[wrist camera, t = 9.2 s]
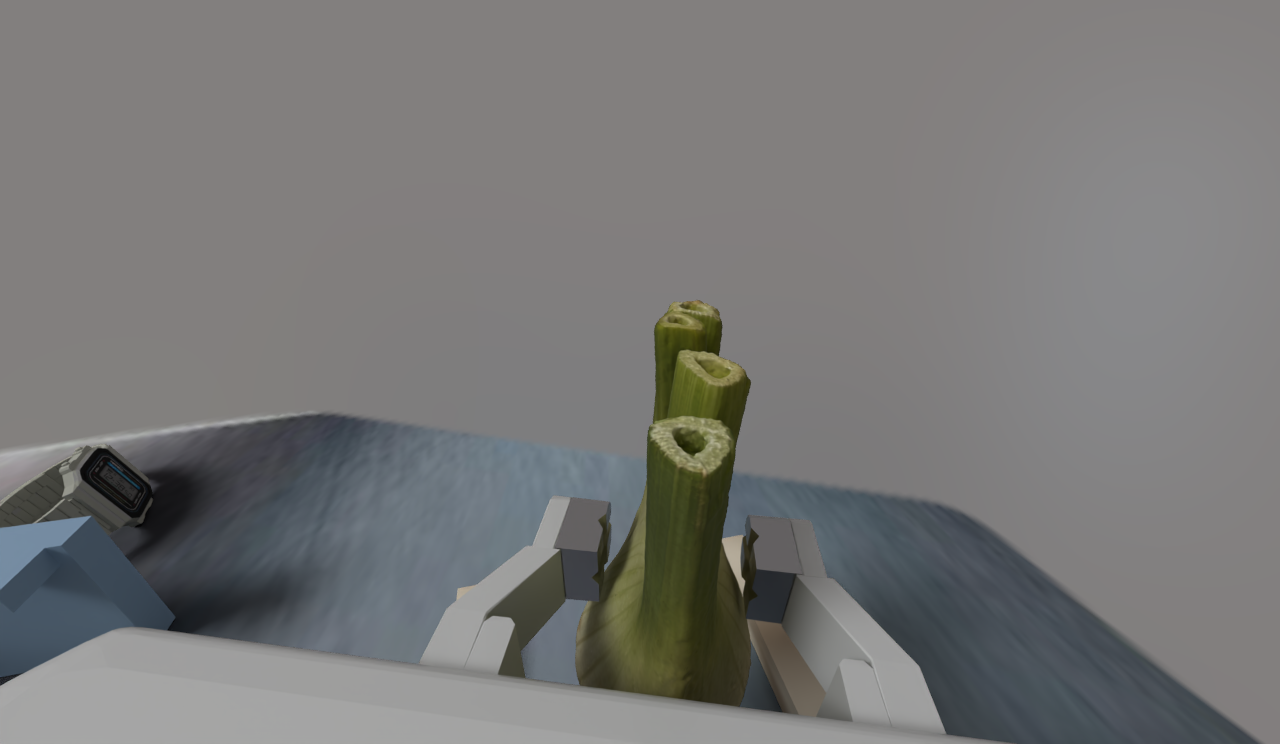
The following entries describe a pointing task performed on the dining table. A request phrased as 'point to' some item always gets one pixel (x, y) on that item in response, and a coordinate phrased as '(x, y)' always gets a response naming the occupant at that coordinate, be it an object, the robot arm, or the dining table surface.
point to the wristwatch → (82, 492)
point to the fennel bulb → (678, 536)
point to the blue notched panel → (66, 591)
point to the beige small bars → (772, 653)
